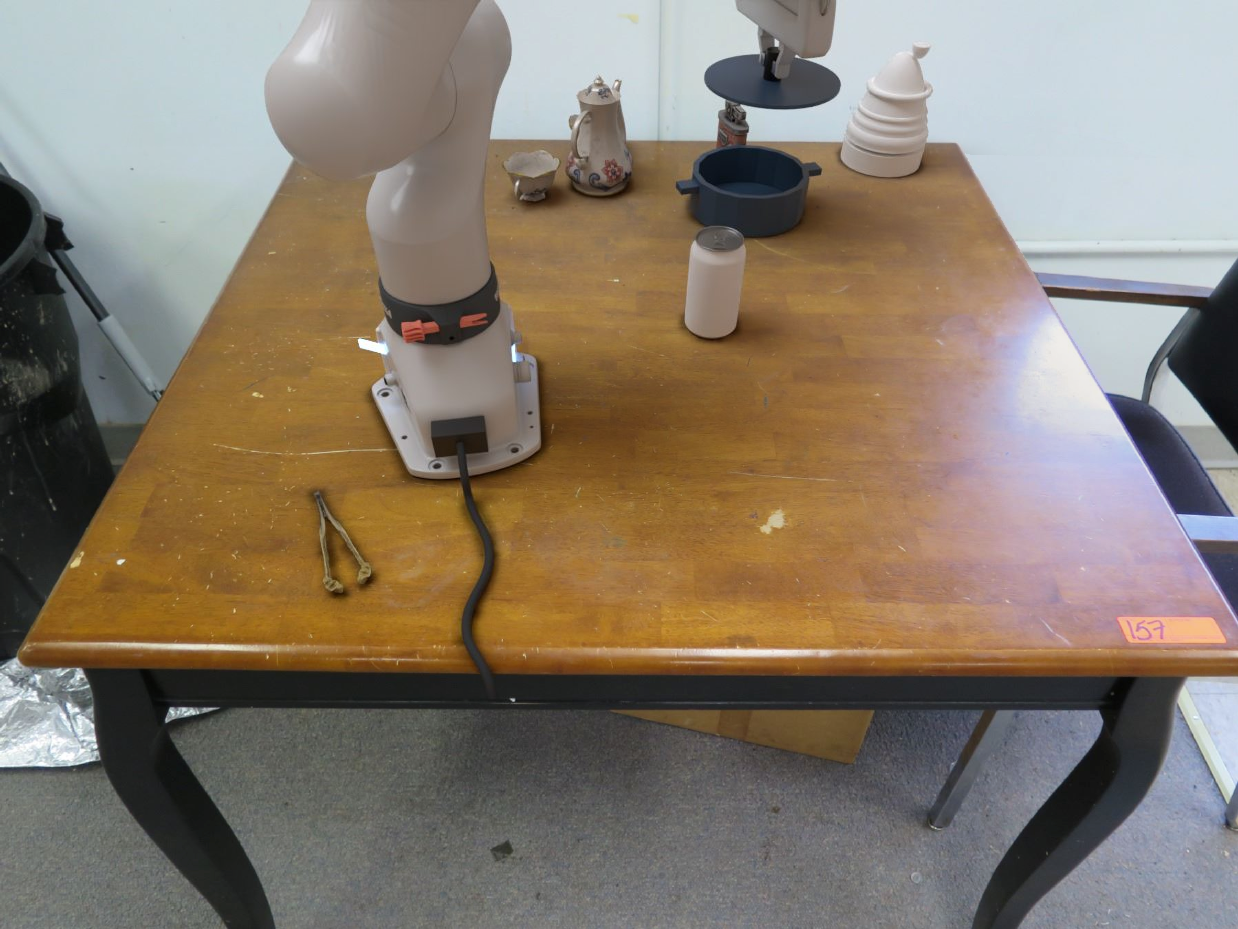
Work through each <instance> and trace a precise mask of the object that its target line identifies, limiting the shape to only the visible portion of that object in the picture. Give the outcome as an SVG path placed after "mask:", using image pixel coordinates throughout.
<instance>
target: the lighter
mask: <svg viewBox="0 0 1238 929" xmlns="http://www.w3.org/2000/svg"><path fill="white" fill-rule="evenodd" d="M724 100H725V101H724V109H720V110H718V113H717V119H718V125H717V136H716V146H715V149H716V148H719V147H726V146H734V145H747V139H748V134H749V132H750V125H749V123H748V121H747V120H746V119H747V111H746V110H745V109H744V108H743V107H742V106H741V104H737V103H734V102H731V101H728V100H726V99H724Z"/></svg>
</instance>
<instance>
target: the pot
mask: <svg viewBox="0 0 1238 929" xmlns="http://www.w3.org/2000/svg"><path fill="white" fill-rule="evenodd" d="M822 172H823V168H822V167H821V166H820V165H819V164H818V163H817V162H816V161H811V162H802V160H800V159H799V158H798V157H796V156H794V155H792V154H789V153H788V152H785V151H783V150H781V149H776V148H772V147H767V146H763V145H751V144H749V145H748V144H746V145H734V146H726V147H719V148H716V147H715V148H714V149H711V150H707V151H706V152H702V153H701V155H700V156H698V157H697V158H696V160H694V161H693V163H692V175H691V178H690V179H683V180H676V181H675V189H676V190H677V192H678V193H679V195H680V196H684V195H685V196H686V195H690V202H689V209H690V212H691V214H692V216H693V217H694V218H695V219H696V220H697V222H699V223H700V224H701V225H703V226H705V228H706V227H710V226H725V227H730V228H733V229H735V230H737V231H739V232H740V233H741V234H742V235H743V237H744V238H763V237H771V236H775V235H779V234H782V233H785V232H787V231H789V230H791V229H792V228H794V227H795V226H797V225H798V223H800V220H801V219H802V217H803V214H804V212H805V207H806V206H805V205H806V200H807V195H808V189H809V184H810V180H811V179H810V178H812V177H818V176H821V175H822Z"/></svg>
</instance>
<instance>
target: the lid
mask: <svg viewBox="0 0 1238 929" xmlns="http://www.w3.org/2000/svg"><path fill="white" fill-rule="evenodd" d="M779 53H780V50H779V49H778V46H775V47H769V48H767V52H766V60H765V67H763V66H762V65H761V64H759V56H760V53H756V54H755V53H751V54H750V53H749V54H741V55H740V54H739V55H735V56H730V57H725V58H723V59H720V60H717V61H716V62H714V63H712V64H711V65H709V66H708V67H707V68H706V70H705V72H704V75H703V81H704V84H705V86H706V87H707V89H708V90H709V91H710V92H712V93H713V94H714V95H716V96H717V97H720V98H722V99H724V100H728V101H731V102H734V103H737V104H740V105H742V106H746V107H750V108H755V109H765V110H778V111H779V110H782V111H786V110H787V111H789V110H790V111H791V110H801V109H809V108H813V107H817V106H822V105H824V104H826V103H829V102H831V101H832V100H834V99H835V98H836V97H837V96H838V95H839V94H840V91H841V87H842V83H841V79H840V78H839V76H838V75H837V74H836V73H835V72H834V71H833V70H832V69H829V68H827V66H824V65H823V64H820V63H817V62H815V61H812V60H809V59H802V58H800V57H796V56H795V57H794V59H793V61H792V63H791V64H790V70H789V75H788V77H787V78H781V79H778V78H776V77H775V76H774V75H773V74H772V72H771V71H772V64H773V61H774V60H777V58H778V55H779Z"/></svg>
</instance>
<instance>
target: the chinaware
mask: <svg viewBox="0 0 1238 929" xmlns="http://www.w3.org/2000/svg"><path fill="white" fill-rule="evenodd" d="M604 82H605V81H604V79H602V76H601V75H599V74H598V75H596V76H595V79H593V83H591V84H590V85H589V86H588V87H587V88H583V89H582V90H579V91H578V92H577V94H575V95H576V99H577V100H578V106H579V109H580V114H572V115H569V118H568V126H569V129H570V130H571V133H570V134H571V135H570V152H569V154H568V156H567V162H566V165H565V168H564V171H565V175H566V176H567V177H568V178H569V179H570V181H572V186H573V188H574V190H576V191H577V192H579V193H580V194H583V195H586V196H591V197H609V196H614V195H616V194H619V193H621V192H622V191H623V190H625V188H626V187H627V182H628V181H629V180H630V179H631V177H632V175H633V165H634V157H633V156H632V154H631V152H630V150H628V148H627V146H626V144H627V130H626V122H625V116H624V113H623V108H622V102H621V98H622V95H621V92H620V91H621V86H622V82H623V81H622V79H620V78H619V79H618V78H617V79H615V80H614V82H613V83H612V87H611V88H610V87H609V85H608V84H606V83H604ZM561 165H562V160H561V159H560V158H559V157H554V156H553V155H552V154H551V153H550V152H549V151H548V150H545V149H537V150H534V151H532V152H527V151H523V150H520V151H519V150H518V151H514V152H513V153H511V154H510V155H509V157H508V158H507V160H504V161H502V163H501V167H502V169H503V170H504V171H505V172H506V173H507V174H508V177H509V179H510V181H511V184H512V186H513V188H514V189H513V193H514V198H515V200H516V201H518V202H521V201H523V200H524V201H530V202H537V201H540V200H543V199H545V198H546V194H545V192H547V191H548V190H550V188H551V187H552V185H553V184H554V181H555V179H556V175H557V174H556V173H557V171H558V169H559V168H560V166H561ZM519 192H520V193H522V194H521V195H520V197H519V195H518V194H519Z"/></svg>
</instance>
